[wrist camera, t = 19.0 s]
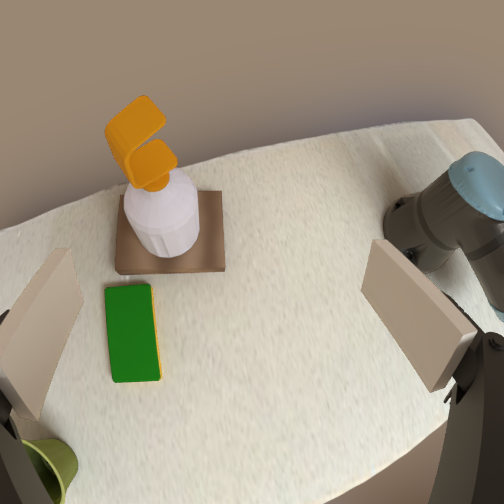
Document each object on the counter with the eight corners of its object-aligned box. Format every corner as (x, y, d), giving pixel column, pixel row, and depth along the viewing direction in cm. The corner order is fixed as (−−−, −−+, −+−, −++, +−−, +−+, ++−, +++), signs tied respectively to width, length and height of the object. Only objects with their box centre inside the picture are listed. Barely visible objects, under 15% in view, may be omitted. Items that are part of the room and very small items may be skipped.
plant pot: (104, 461, 36) (79, 487, 25) (72, 500, 32) (45, 527, 21) (48, 409, 37) (11, 420, 26) (20, 451, 33) (-16, 466, 22)
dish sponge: (153, 286, 46) (150, 283, 43) (163, 379, 42) (160, 380, 39) (109, 290, 44) (104, 287, 42) (117, 381, 40) (112, 382, 38)
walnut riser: (220, 199, 51) (221, 190, 48) (224, 271, 47) (225, 266, 45) (124, 203, 48) (120, 195, 46) (120, 274, 45) (114, 269, 42)
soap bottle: (211, 234, 46) (218, 121, 22) (160, 271, 43) (112, 182, 20) (177, 190, 47) (161, 65, 24) (128, 223, 44) (71, 112, 21)
